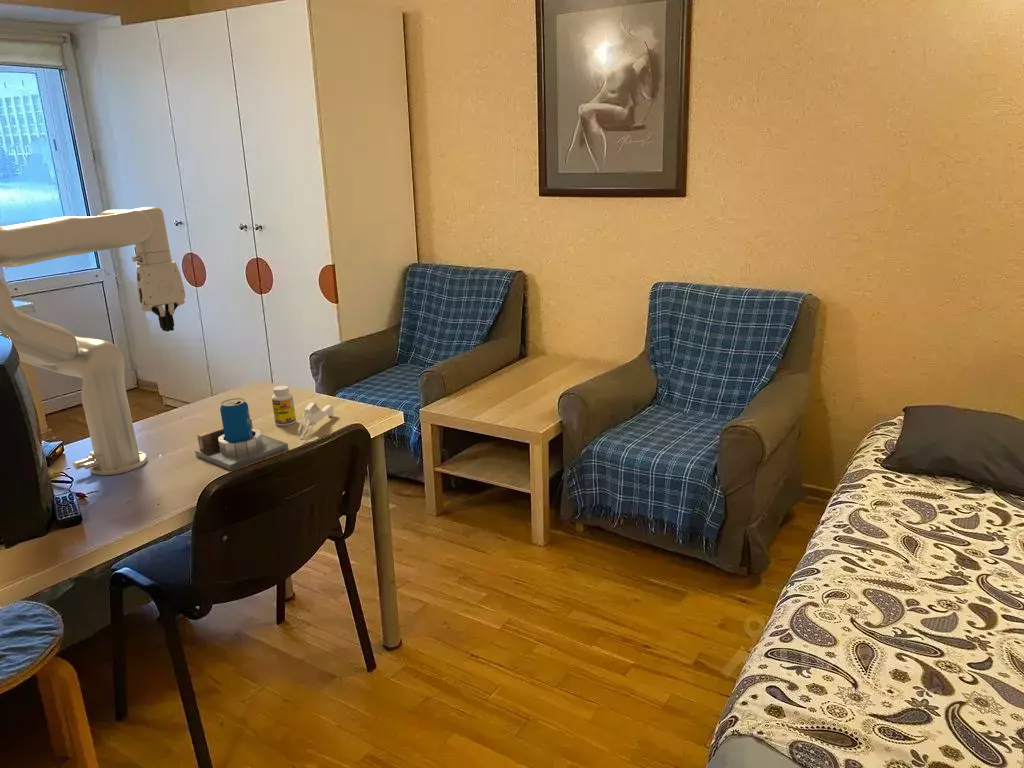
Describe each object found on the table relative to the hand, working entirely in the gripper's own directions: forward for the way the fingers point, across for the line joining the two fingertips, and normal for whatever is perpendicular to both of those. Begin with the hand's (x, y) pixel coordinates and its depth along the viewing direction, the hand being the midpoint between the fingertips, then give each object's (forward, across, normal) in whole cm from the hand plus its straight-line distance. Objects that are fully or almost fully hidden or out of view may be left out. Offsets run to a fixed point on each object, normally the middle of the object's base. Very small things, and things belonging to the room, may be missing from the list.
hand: (168, 330), depth 197 cm
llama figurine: (+30, +24, -25) cm, 45 cm away
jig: (+29, +2, -23) cm, 37 cm away
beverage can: (+28, +2, -23) cm, 36 cm away
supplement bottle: (+29, +21, -14) cm, 39 cm away
